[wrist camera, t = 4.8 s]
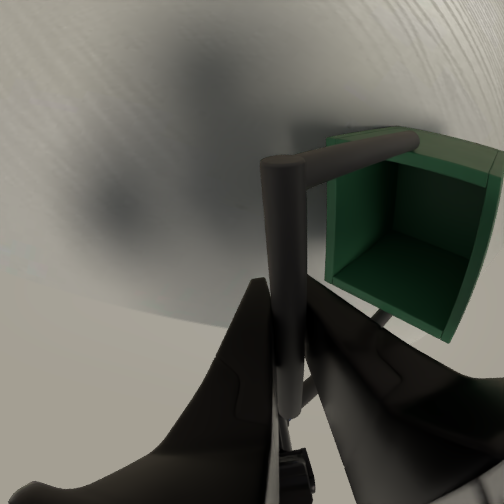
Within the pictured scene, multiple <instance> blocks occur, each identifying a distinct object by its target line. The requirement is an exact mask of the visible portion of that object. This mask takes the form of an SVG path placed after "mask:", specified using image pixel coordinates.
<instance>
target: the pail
mask: <svg viewBox="0 0 504 504" xmlns="http://www.w3.org/2000/svg"><path fill="white" fill-rule="evenodd" d="M260 173H261V184H262V195H263V206H264V218H265V230H266V242H267V254H268V267H269V279H270V293H271V306H272V313H273V325H274V338H275V351H276V365H277V395H278V411H279V414H280V415H281V416H282V417H283V418H285V419H293V418H296V417H297V416H298V415H299V414H300V412H301V409H302V408H303V407H304V406H305V405H306V404H307V403H308V402H309V401H311V400H312V399H313V398H314V397H315V396H316V395H317V394H318V392H317V389H316V386H315V383H314V381H313V378H312V375H311V376H310V377H309V378H307V379H306V380H305V381H304V382H303V375H304V358H305V336H306V306H307V196H306V190H307V189H309V188H312V187H315V186H317V185H320V184H322V183H325V182H327V228H326V259H325V279H324V280H325V281H326V282H328V283H330V284H333V285H334V286H336V287H338V288H340V289H342V290H344V291H346V292H348V293H350V294H352V295H354V296H356V297H358V298H360V299H362V300H364V301H366V302H368V303H370V304H372V305H374V306H376V307H378V308H380V309H379V310H378V311H377V312H376V313H375V314H374V315H373V316H372V317H371V319H372V320H374V321H375V322H376V323H378V324H379V325H381V328H382V327H383V326H384V325H385V324H386V323H387V322H388V320H389V319H390V318H391V317H392V315H393V316H395V317H397V318H399V319H401V320H403V321H405V322H407V323H409V324H411V325H413V326H415V327H417V328H419V329H421V330H423V331H425V332H427V333H428V334H431V335H432V336H434V337H436V338H438V339H440V340H442V341H444V342H446V343H450V341H451V339H452V337H453V335H454V333H455V331H456V329H457V327H458V325H459V323H460V321H461V319H462V316H463V314H464V311H465V310H466V307H467V305H468V303H469V300H470V297H471V295H472V293H473V290H474V288H475V285H476V282H477V280H478V277H479V274H480V271H481V268H482V266H483V262H484V259H485V256H486V253H487V249H488V246H489V242H490V239H491V235H492V231H493V227H494V223H495V219H496V215H497V210H498V206H499V201H500V195H501V190H502V184H503V178H504V151H501V150H498V149H494V148H491V147H488V146H484V145H481V144H477V143H474V142H470V141H466V140H462V139H458V138H454V137H450V136H446V135H441V134H437V133H432V132H427V131H422V130H417V129H412V128H406V127H400V126H394V127H387V128H380V129H373V130H366V131H360V132H354V133H348V134H343V135H337V136H332V137H327V138H326V147H323V148H319V149H315V150H311V151H307V152H303V153H299V154H295V155H275V156H270V157H267V158H264V159H262V160H261V161H260Z"/></svg>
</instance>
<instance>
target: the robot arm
mask: <svg viewBox="0 0 504 504" xmlns="http://www.w3.org/2000/svg"><path fill="white" fill-rule="evenodd" d="M305 358H306V361H307V364H308V367H309V370H310V372H311V375H312V378H313V381H314V383H315V386H316V389H317V392H318V394H319V397H320V400H321V403H322V406H323V408H324V411H325V414H326V417H327V420H328V423H329V425H330V428H331V431H332V434H333V437H334V439H335V442H336V445H337V448H338V451H339V454H340V457H341V460H342V462H343V465H344V467H345V471H346V474H347V477H348V480H349V483H350V486H351V489H352V492H353V495H354V498H355V500H356V503H357V504H504V377H503V378H485V379H481V378H480V379H479V378H471V377H468V376H465V375H462V374H460V373H458V372H456V371H454V370H452V369H451V368H449V367H447V366H445V365H444V364H442V363H440V362H438V361H436V360H435V359H433V358H431V357H429V356H427V355H426V354H424V353H422V352H420V351H419V350H417V349H415V348H414V347H412V346H410V345H409V344H407V343H405V342H404V341H403V340H401V339H400V338H398V337H397V336H395V335H394V334H392V333H391V332H389V331H388V330H386V329H385V328H384V327H382V328H381V325H379V324H378V323H376V322H375V321H374V320H372V319H371V318H369V317H368V316H366V315H365V314H364V313H362V312H361V311H359V310H358V309H357V308H355V307H354V306H352V305H351V304H349V303H348V302H347V301H345V300H344V299H342V298H341V297H339V296H338V295H337V294H335V293H334V292H332V291H331V290H329V289H328V288H327V287H325V286H324V285H322V284H321V283H319V282H318V281H316V280H315V279H314V278H312V277H311V276H309V275H308V274H307V306H306V336H305ZM288 426H289V419H285V418H283V417H282V416H281V415H280V414H279V411H278V395H277V365H276V351H275V338H274V325H273V313H272V306H271V296H270V292H269V289H268V285H267V282H266V279H265V278H264V277H261V278H254V279H251V281H250V283H249V285H248V287H247V289H246V292H245V294H244V296H243V298H242V300H241V302H240V305H239V307H238V309H237V311H236V313H235V315H234V318H233V320H232V322H231V324H230V326H229V328H228V330H227V333H226V335H225V337H224V339H223V341H222V343H221V345H220V348H219V350H218V352H217V354H216V357H215V358H214V360H213V362H212V364H211V366H210V369H209V370H208V373H207V374H206V376H205V378H204V380H203V382H202V384H201V385H200V387H199V389H198V390H197V392H196V393H195V395H194V396H193V398H192V400H191V401H190V403H189V404H188V406H187V407H186V408H185V410H184V411H183V413H182V414H181V416H180V417H179V419H178V420H177V422H176V423H175V425H174V426H173V428H172V429H171V430H170V432H169V433H168V435H167V436H166V438H165V439H164V440H163V441H162V442H161V443H160V445H159V446H158V447H156V448H155V449H154V450H153V451H152V452H150V453H149V454H148V455H146V456H144V457H142V458H140V459H139V460H137V461H135V462H133V463H131V464H130V465H128V466H126V467H124V468H122V469H120V470H118V471H116V472H114V473H112V474H110V475H108V476H106V477H104V478H102V479H100V480H98V481H96V482H94V483H92V484H89V485H86V486H83V487H80V488H74V489H61V488H56V487H53V486H50V485H47V484H44V483H41V482H37V481H32V482H30V483H28V484H27V485H25V486H23V487H21V488H20V489H18V490H17V491H16V492H15V493H14V494H13V495H12V496H11V498H10V499H9V501H8V503H9V504H312V502H313V498H312V494H313V493H315V480H314V475H313V471H312V468H311V464H310V461H309V458H308V454H307V451H306V448H301V449H299V450H294V451H292V447H291V442H290V436H289V431H288Z"/></svg>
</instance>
